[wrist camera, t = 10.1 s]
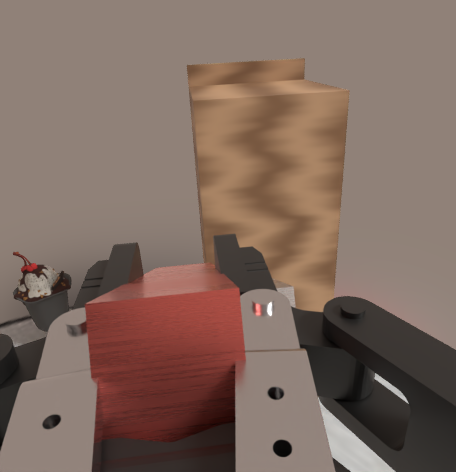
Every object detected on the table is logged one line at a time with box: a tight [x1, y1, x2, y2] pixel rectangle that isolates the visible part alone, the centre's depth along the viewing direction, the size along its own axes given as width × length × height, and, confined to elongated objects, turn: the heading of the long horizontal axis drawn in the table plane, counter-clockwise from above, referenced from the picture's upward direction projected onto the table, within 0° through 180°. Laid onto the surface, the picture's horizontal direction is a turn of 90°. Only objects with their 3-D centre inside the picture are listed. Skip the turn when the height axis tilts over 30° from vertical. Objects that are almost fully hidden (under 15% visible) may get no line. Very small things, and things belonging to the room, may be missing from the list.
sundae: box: [13, 252, 71, 332], centre depth 50 cm, size 7×7×15 cm
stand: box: [187, 58, 349, 397], centre depth 42 cm, size 12×13×34 cm
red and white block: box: [85, 263, 296, 442], centre depth 17 cm, size 10×22×2 cm, turn 7°
